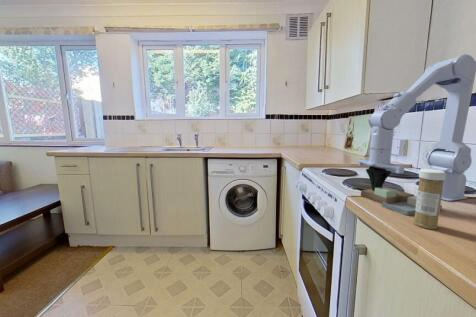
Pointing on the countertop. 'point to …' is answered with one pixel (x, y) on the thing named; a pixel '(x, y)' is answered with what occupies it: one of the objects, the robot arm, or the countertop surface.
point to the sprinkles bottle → (429, 198)
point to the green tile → (385, 192)
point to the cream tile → (412, 200)
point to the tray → (402, 207)
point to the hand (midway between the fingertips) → (376, 190)
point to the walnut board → (399, 198)
